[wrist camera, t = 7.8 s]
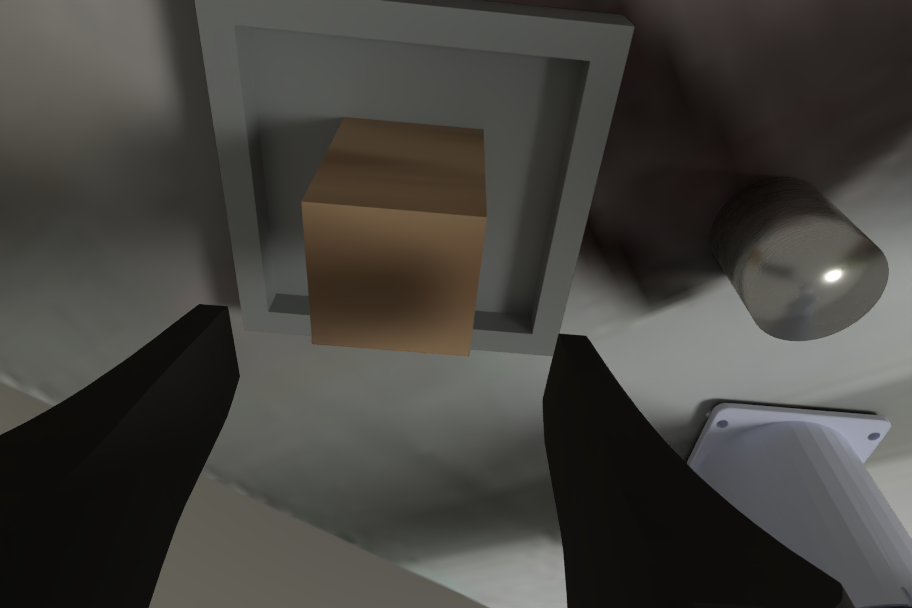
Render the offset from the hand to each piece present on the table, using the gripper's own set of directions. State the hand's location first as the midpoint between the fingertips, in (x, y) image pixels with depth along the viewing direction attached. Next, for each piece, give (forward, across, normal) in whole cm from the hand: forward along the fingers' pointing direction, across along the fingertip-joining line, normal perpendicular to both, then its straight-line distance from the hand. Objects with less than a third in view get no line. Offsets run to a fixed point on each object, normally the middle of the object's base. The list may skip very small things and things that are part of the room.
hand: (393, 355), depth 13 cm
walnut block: (+9, 0, 0) cm, 9 cm away
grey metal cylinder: (+10, -13, +1) cm, 16 cm away
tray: (+9, 0, 0) cm, 9 cm away
